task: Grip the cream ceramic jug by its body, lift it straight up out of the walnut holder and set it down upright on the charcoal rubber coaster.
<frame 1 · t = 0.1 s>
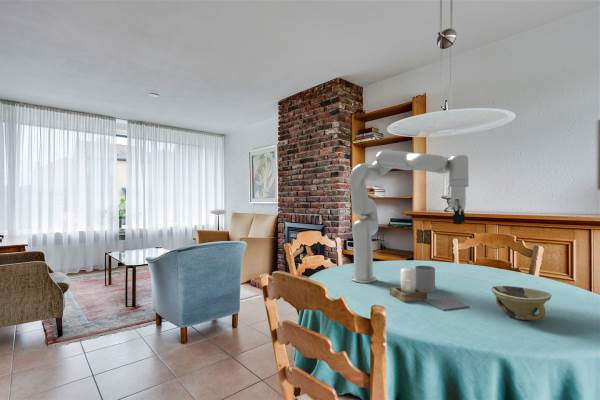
hand: (459, 223, 139), 31 cm above the table, tool pointing down, fingers open, 9 cm apart
coaster: (445, 304, 127), on the table
cup: (425, 289, 148), on the table
holder: (408, 297, 137), on the table
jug: (407, 283, 136), in the holder
bowl: (520, 317, 113), on the table
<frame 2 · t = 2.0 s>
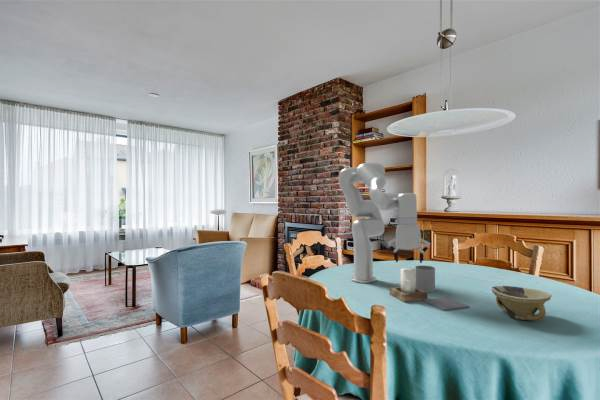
hand: (408, 262, 136), 15 cm above the table, tool pointing down, fingers open, 9 cm apart
nothing on the table moved.
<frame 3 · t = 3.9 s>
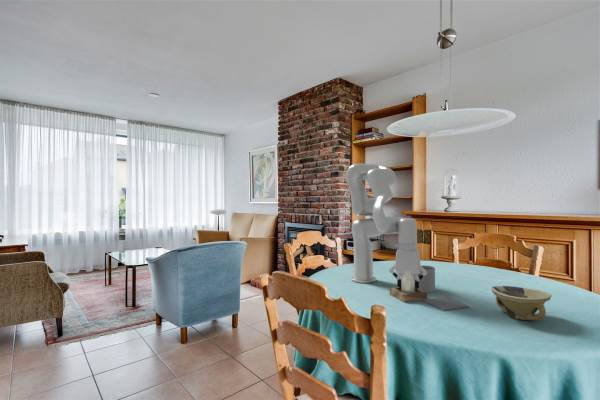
hand: (408, 288, 137), 4 cm above the table, tool pointing down, fingers closed on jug, 6 cm apart
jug: (407, 283, 136), in the holder, touching gripper
everything else where it was.
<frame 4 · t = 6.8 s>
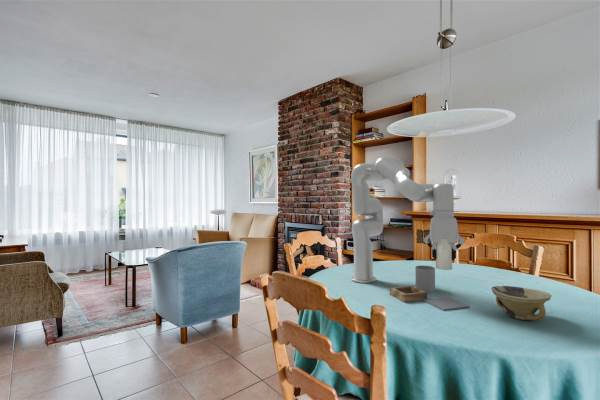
hand: (443, 259, 127), 18 cm above the table, tool pointing down, fingers closed on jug, 6 cm apart
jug: (444, 253, 126), point 20 cm above the table, touching gripper
everything else where it was.
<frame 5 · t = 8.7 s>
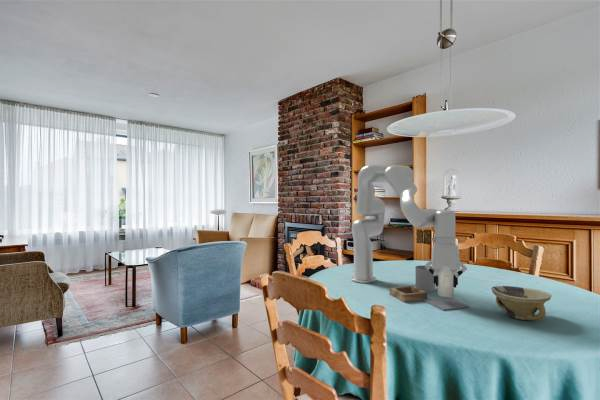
hand: (445, 285, 127), 7 cm above the table, tool pointing down, fingers closed on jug, 6 cm apart
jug: (445, 280, 126), point 10 cm above the table, touching gripper
everything else where it was.
when the fingers open (5 cm above the table, at t = 10.0 s): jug drops 1 cm, resting on coaster.
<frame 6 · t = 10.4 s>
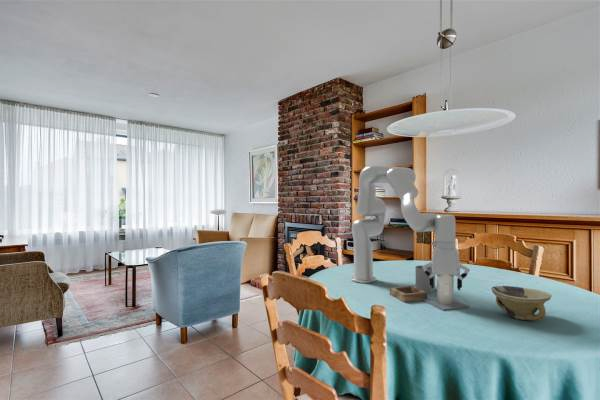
hand: (445, 288, 127), 6 cm above the table, tool pointing down, fingers open, 9 cm apart
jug: (445, 288, 126), on the coaster, point 7 cm above the table
everything else where it was.
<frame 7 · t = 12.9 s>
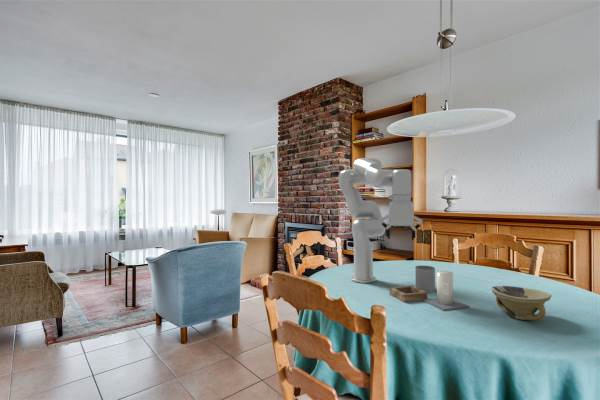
hand: (400, 239, 136), 25 cm above the table, tool pointing down, fingers open, 9 cm apart
nothing on the table moved.
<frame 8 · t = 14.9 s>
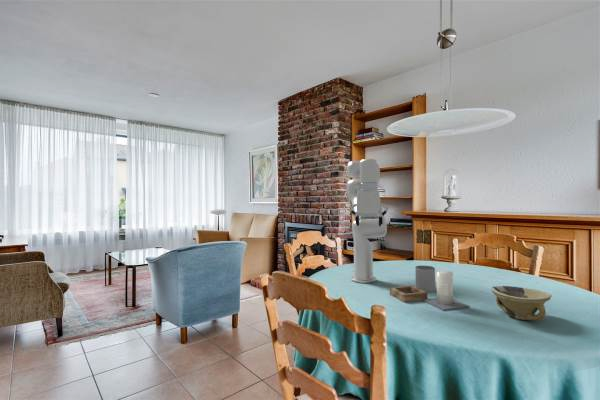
hand: (368, 225, 141), 30 cm above the table, tool pointing down, fingers open, 9 cm apart
nothing on the table moved.
at the end: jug inside the target area on the coaster (0.1 cm from its centre), point 6.7 cm above the coaster's base; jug tilted 1°; the gripper is holding nothing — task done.
